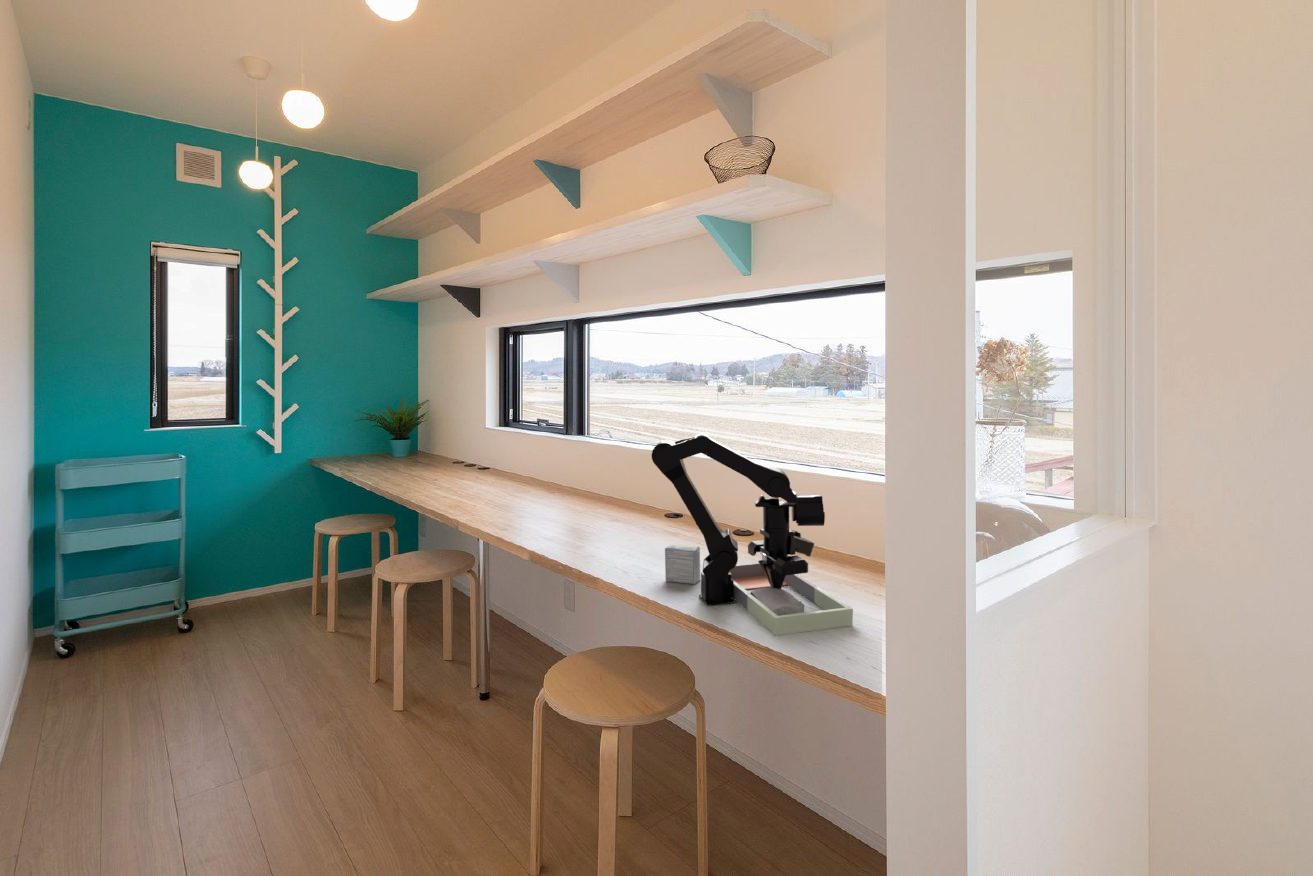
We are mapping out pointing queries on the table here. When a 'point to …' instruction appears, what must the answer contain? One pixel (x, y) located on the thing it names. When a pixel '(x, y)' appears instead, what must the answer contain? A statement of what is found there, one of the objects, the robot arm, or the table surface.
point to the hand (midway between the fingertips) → (776, 593)
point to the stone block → (778, 601)
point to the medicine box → (682, 563)
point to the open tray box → (792, 623)
